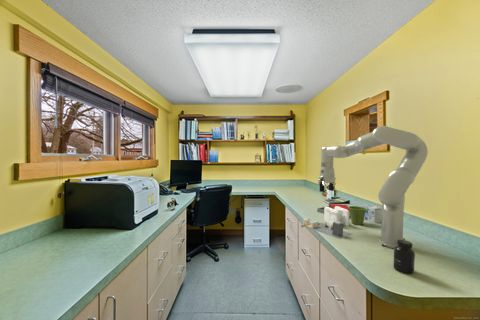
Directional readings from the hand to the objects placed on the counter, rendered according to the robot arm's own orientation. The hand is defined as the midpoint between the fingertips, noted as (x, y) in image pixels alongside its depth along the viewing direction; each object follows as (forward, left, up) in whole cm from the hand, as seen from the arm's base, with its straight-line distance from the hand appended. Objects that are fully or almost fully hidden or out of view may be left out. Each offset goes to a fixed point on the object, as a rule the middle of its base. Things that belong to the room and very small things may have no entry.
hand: (326, 191), depth 138 cm
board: (-4, +6, -24) cm, 25 cm away
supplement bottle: (-49, +19, -25) cm, 58 cm away
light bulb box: (-8, -45, -25) cm, 52 cm away
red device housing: (+17, -45, -24) cm, 54 cm away
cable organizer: (0, -12, -25) cm, 27 cm away
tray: (+17, -45, -24) cm, 54 cm away
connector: (-14, +9, -23) cm, 28 cm away
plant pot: (-6, -28, -25) cm, 37 cm away
